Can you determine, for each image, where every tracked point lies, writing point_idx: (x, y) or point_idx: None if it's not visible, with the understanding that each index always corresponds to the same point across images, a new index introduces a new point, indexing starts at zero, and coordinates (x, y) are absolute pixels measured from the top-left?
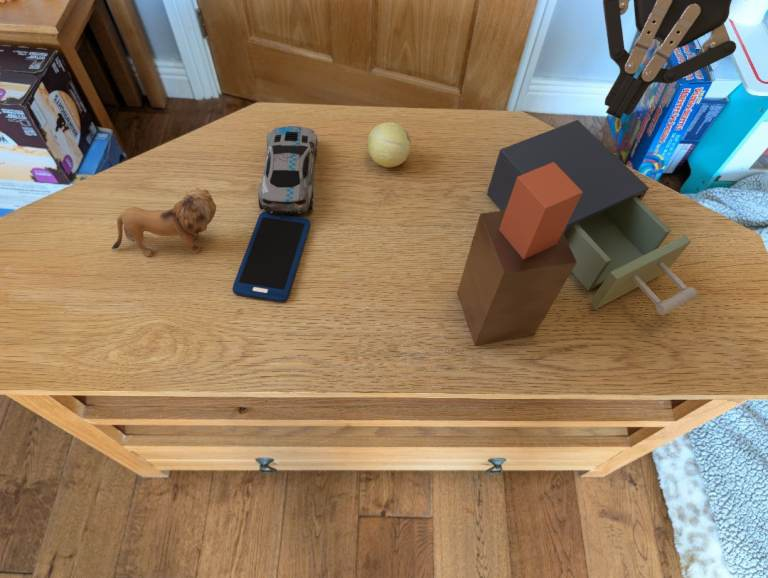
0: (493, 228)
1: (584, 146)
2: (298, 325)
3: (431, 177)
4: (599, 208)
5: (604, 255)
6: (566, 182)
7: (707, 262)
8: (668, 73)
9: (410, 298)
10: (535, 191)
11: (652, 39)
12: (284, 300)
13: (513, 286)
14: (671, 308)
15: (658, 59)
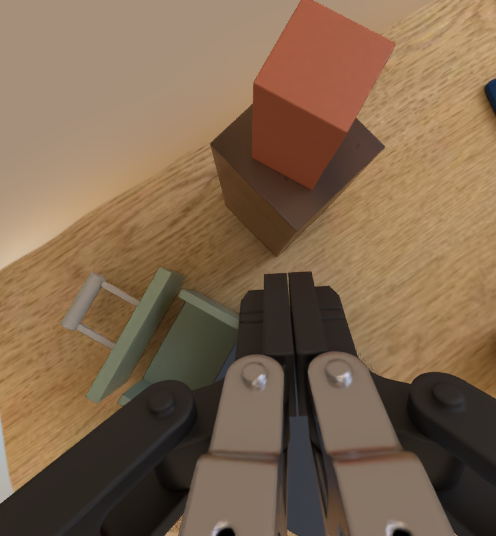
0: (352, 130)
1: (296, 493)
2: (453, 72)
3: (452, 357)
4: (224, 369)
5: (188, 298)
6: (296, 87)
7: (73, 433)
8: (176, 408)
9: (369, 170)
10: (343, 24)
11: (346, 504)
12: (487, 84)
13: None
14: (85, 281)
15: (248, 440)
